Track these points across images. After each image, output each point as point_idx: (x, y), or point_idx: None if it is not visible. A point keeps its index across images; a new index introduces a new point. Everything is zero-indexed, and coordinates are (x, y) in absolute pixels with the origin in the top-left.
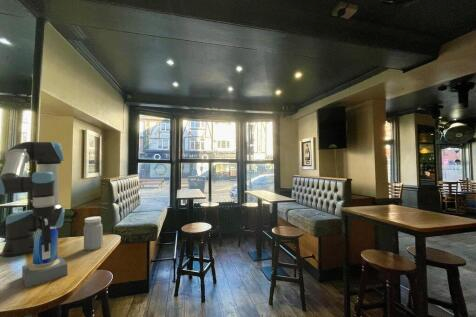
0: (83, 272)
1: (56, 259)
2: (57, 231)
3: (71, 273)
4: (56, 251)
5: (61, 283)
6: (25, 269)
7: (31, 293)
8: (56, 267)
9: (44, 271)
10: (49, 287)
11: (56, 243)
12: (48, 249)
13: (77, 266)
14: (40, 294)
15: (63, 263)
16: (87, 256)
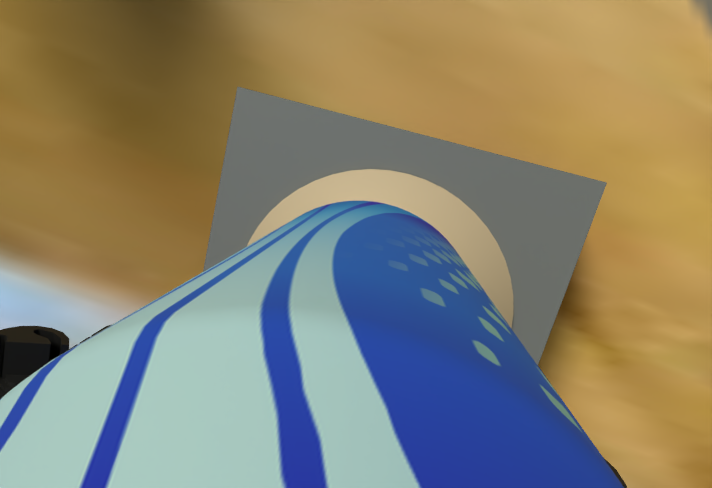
0: (670, 68)
1: (339, 182)
2: (530, 420)
3: (564, 138)
4: (455, 255)
5: (682, 280)
6: None
7: (610, 448)
8: (566, 279)
9: None
10: (651, 354)
11: (494, 305)
12: (621, 483)
13: (450, 19)
14: (700, 431)
15: (543, 196)
16: None
